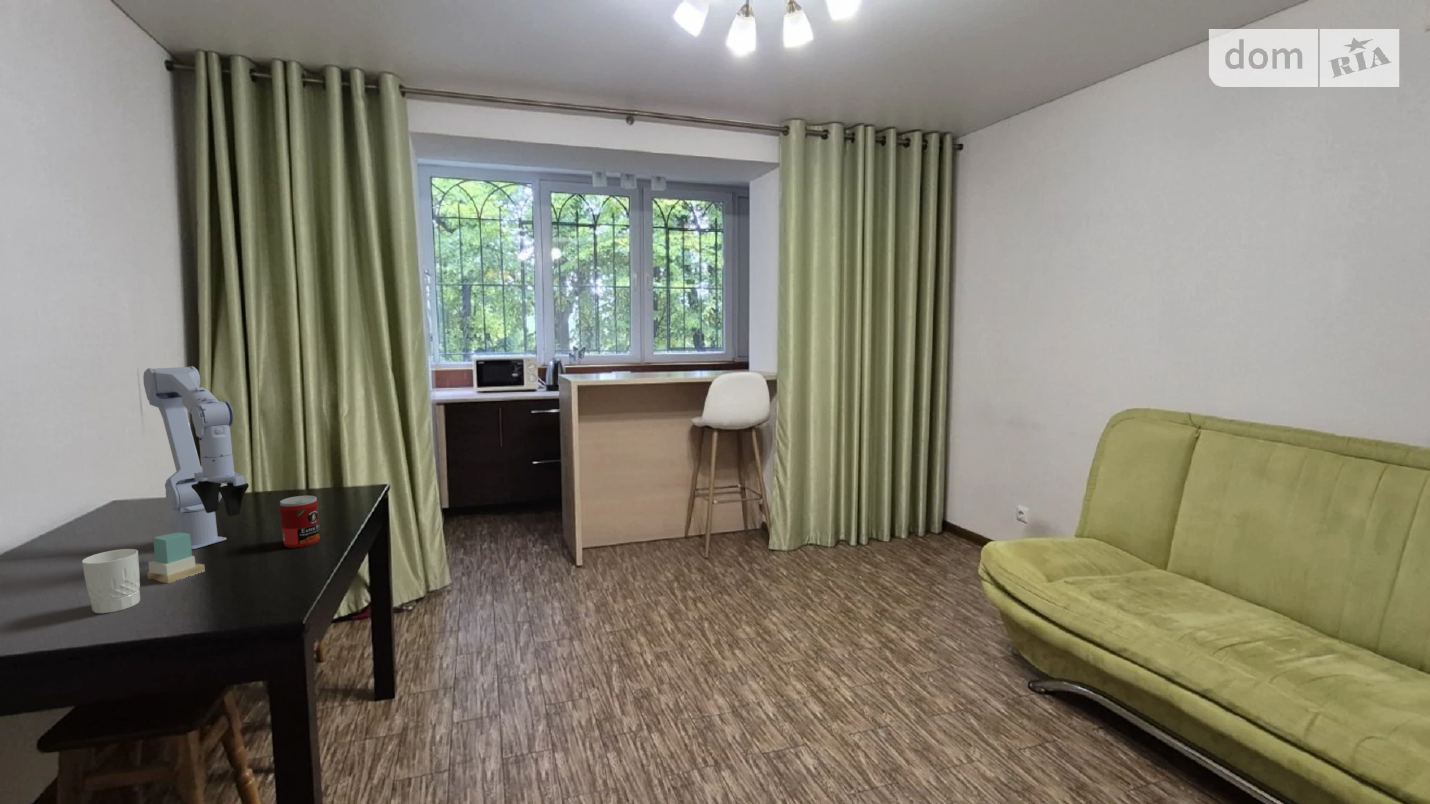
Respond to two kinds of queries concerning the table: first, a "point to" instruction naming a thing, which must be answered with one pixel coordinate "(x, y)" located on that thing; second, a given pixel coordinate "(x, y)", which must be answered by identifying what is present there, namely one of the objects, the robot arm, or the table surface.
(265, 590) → the table surface
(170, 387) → the robot arm
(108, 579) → the white cup
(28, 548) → the table surface
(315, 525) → the canned food
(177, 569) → the cream slab
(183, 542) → the teal block
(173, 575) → the oak slab
